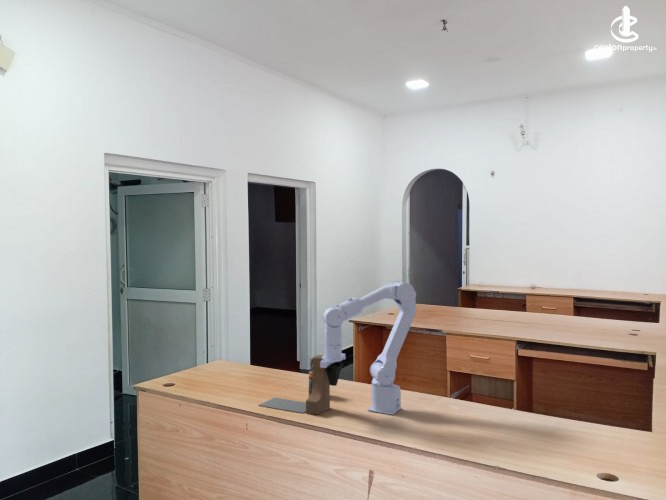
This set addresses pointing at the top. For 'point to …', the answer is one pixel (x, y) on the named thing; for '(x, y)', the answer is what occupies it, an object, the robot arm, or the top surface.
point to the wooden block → (318, 389)
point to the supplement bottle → (310, 380)
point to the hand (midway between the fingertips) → (333, 385)
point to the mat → (285, 405)
